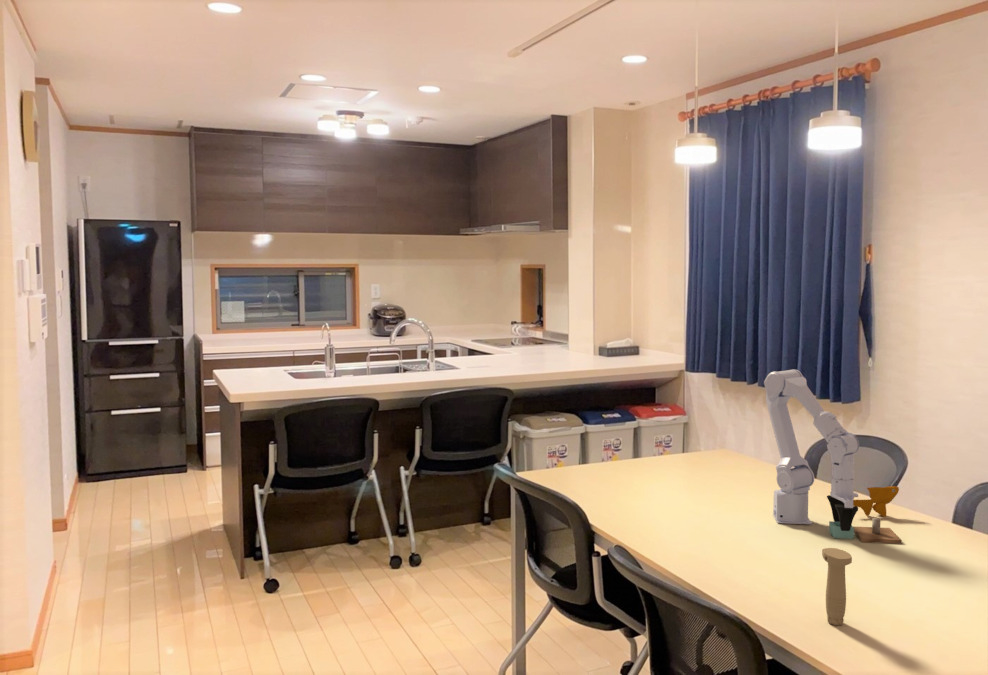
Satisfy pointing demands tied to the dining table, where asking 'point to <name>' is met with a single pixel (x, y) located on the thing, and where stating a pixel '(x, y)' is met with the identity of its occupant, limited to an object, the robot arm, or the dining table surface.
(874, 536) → the post block
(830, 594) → the handle
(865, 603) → the dining table surface
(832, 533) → the collar
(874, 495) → the toy
